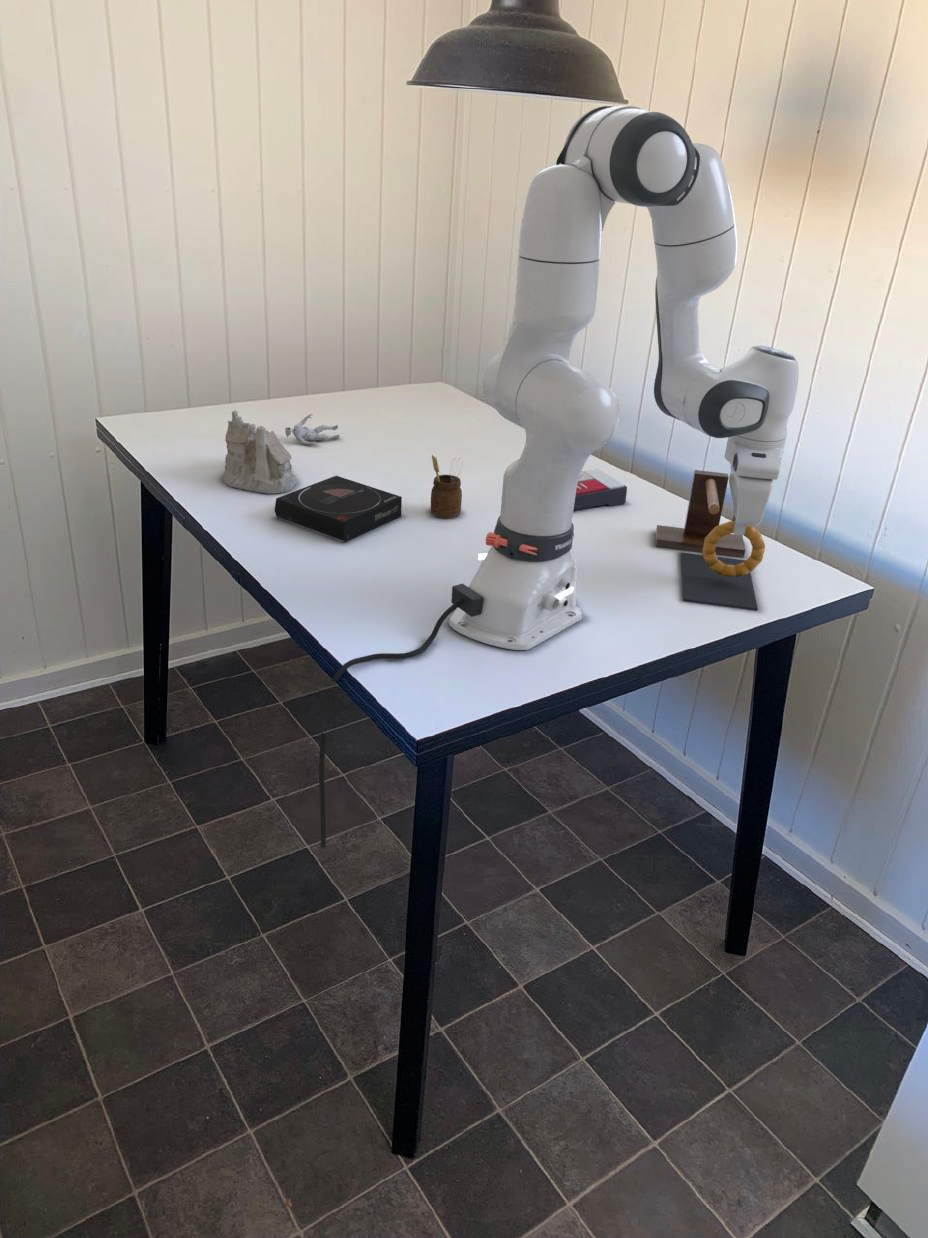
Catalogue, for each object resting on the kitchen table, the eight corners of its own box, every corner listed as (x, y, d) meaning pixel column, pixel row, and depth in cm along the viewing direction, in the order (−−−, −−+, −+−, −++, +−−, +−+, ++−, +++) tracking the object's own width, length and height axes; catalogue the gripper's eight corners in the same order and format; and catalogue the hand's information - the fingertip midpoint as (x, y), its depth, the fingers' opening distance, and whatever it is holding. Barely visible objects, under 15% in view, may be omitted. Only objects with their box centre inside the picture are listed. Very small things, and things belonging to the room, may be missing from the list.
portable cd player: (333, 493, 190) (333, 474, 188) (401, 516, 182) (401, 496, 180) (274, 517, 178) (273, 497, 176) (343, 542, 170) (343, 522, 168)
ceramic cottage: (272, 497, 186) (270, 420, 180) (207, 482, 193) (202, 408, 186) (319, 479, 199) (318, 407, 192) (256, 465, 205) (254, 395, 199)
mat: (757, 610, 156) (757, 608, 156) (683, 600, 158) (683, 598, 157) (747, 562, 173) (748, 560, 172) (680, 554, 174) (680, 552, 174)
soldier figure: (342, 448, 217) (296, 438, 210) (331, 457, 221) (285, 448, 213) (337, 417, 220) (291, 407, 212) (326, 427, 223) (281, 417, 215)
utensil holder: (466, 516, 184) (470, 456, 178) (438, 521, 181) (441, 460, 175) (450, 505, 188) (454, 446, 183) (423, 510, 185) (425, 451, 179)
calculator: (536, 476, 195) (599, 465, 201) (535, 495, 197) (597, 484, 203) (564, 495, 187) (628, 483, 192) (562, 515, 189) (626, 503, 194)
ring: (757, 577, 164) (769, 523, 159) (758, 582, 162) (770, 528, 158) (698, 569, 165) (708, 516, 161) (698, 574, 164) (709, 520, 159)
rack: (655, 532, 183) (667, 464, 176) (741, 542, 181) (755, 474, 174) (655, 567, 169) (667, 495, 162) (748, 578, 167) (764, 506, 160)
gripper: (729, 429, 162) (715, 504, 169) (738, 468, 145) (721, 551, 151) (767, 433, 162) (751, 509, 168) (781, 473, 144) (762, 556, 151)
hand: (737, 529), depth 160 cm, fingers closed on ring, 2 cm apart
